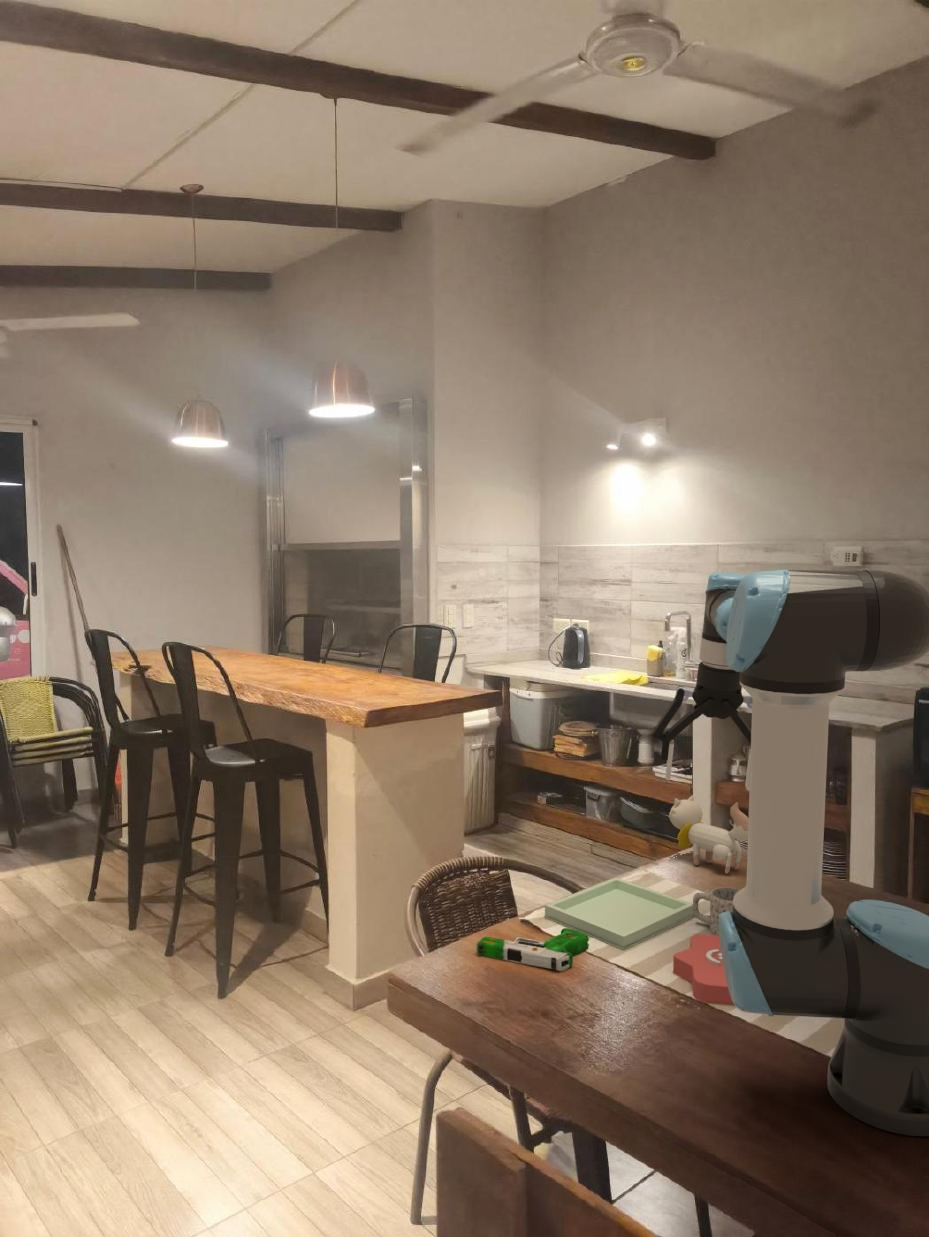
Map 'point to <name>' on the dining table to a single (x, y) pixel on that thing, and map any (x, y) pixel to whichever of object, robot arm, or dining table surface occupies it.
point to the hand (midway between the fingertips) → (707, 782)
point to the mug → (715, 905)
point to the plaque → (704, 969)
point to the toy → (708, 833)
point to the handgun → (537, 949)
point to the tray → (619, 912)
